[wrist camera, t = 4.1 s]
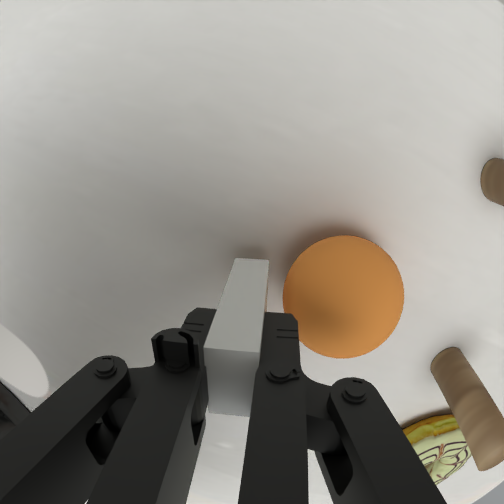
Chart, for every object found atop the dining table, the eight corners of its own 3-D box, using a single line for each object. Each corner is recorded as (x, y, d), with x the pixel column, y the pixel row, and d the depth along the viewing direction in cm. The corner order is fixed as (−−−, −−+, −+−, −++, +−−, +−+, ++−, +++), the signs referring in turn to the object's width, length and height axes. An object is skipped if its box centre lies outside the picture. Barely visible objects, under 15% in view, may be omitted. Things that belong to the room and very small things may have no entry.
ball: (323, 401, 12) (411, 356, 14) (345, 272, 10) (438, 248, 12) (260, 334, 16) (343, 310, 19) (262, 228, 14) (354, 218, 17)
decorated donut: (360, 481, 25) (364, 511, 21) (370, 423, 21) (378, 460, 18) (451, 458, 24) (460, 484, 20) (480, 393, 20) (497, 423, 16)
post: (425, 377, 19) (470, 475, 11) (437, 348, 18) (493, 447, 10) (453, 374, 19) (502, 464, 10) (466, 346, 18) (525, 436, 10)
